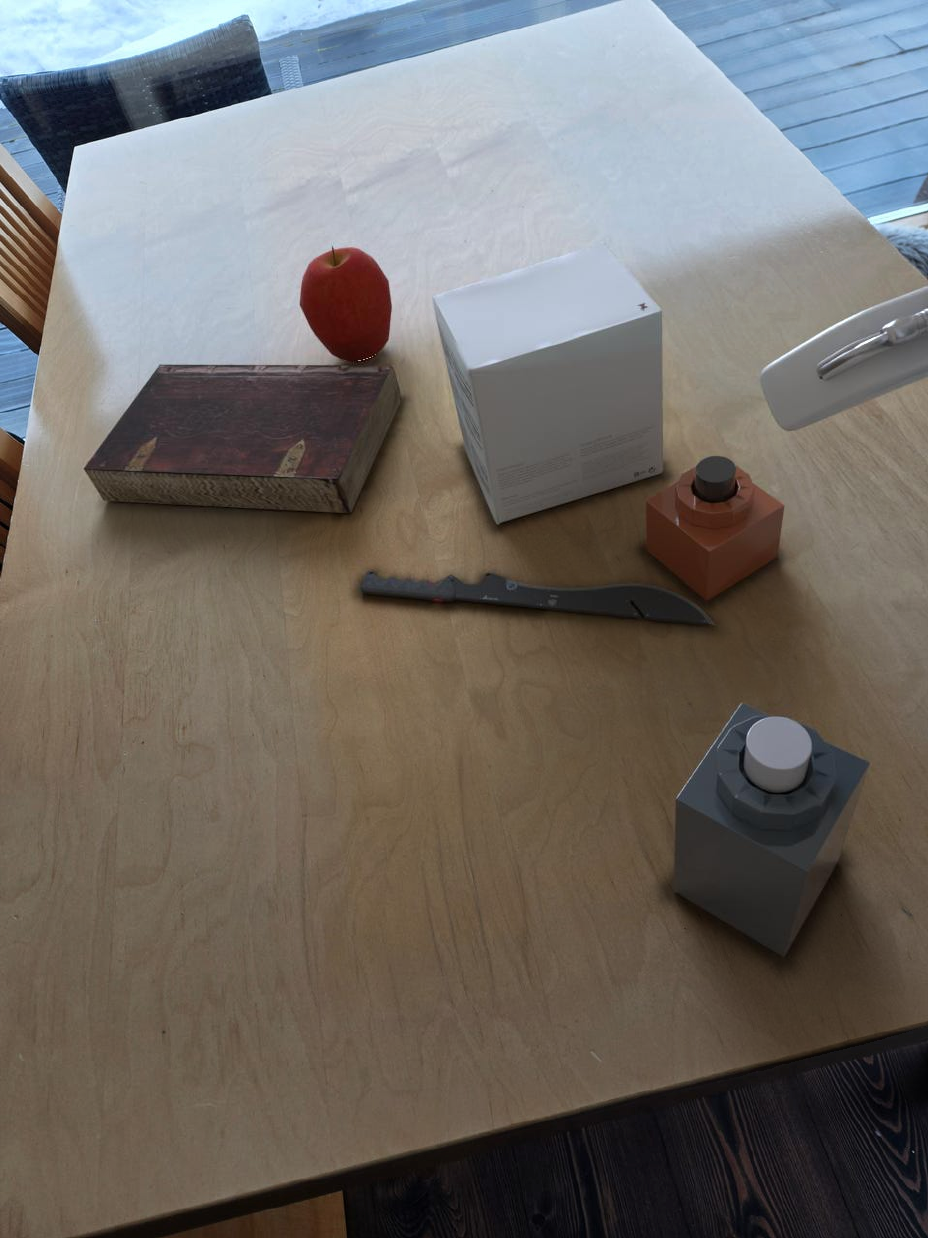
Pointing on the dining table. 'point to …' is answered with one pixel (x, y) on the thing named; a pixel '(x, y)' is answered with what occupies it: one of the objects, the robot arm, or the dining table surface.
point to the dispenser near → (762, 835)
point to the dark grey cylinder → (715, 479)
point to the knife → (548, 597)
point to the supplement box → (555, 380)
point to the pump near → (777, 754)
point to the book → (249, 436)
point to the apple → (347, 303)
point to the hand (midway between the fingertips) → (853, 380)
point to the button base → (713, 533)
